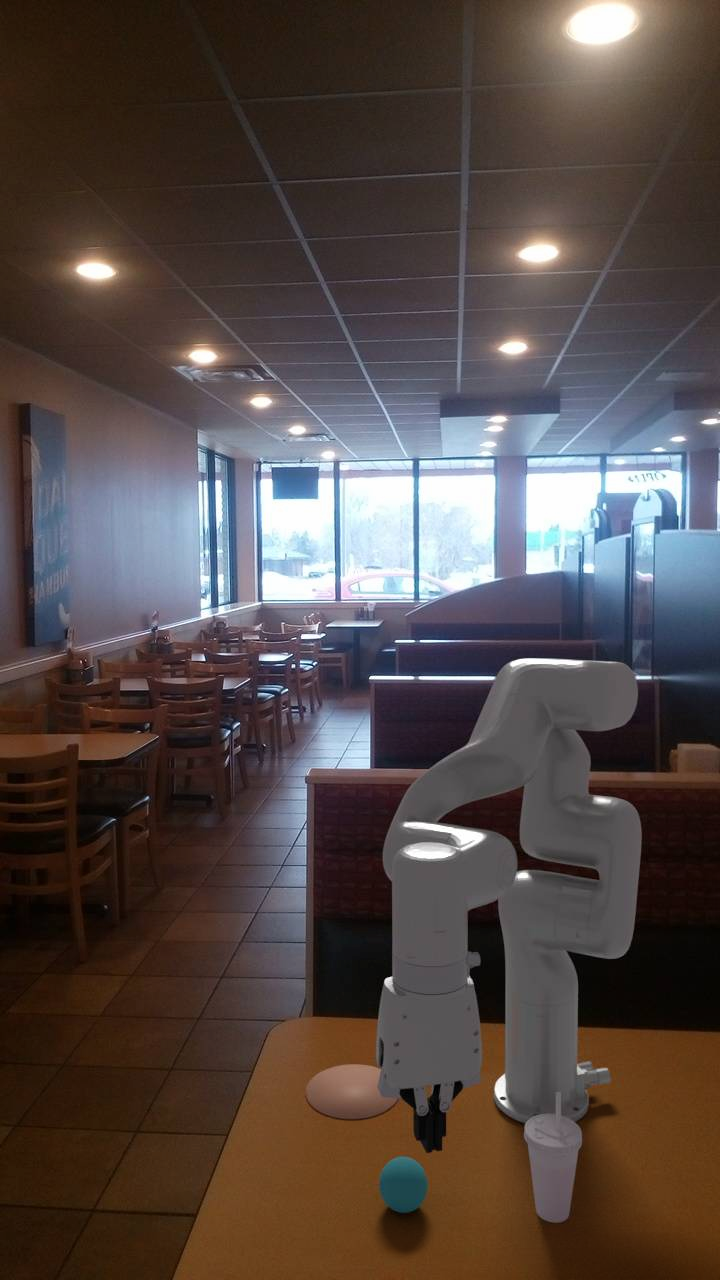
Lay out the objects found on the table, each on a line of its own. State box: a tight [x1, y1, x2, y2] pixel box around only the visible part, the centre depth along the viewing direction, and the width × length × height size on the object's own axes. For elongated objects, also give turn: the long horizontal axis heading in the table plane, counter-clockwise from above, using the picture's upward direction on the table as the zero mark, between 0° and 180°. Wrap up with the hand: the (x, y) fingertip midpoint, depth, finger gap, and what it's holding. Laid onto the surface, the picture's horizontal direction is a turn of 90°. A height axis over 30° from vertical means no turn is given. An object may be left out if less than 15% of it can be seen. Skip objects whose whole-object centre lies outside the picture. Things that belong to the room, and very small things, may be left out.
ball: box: [378, 1156, 429, 1214], centre depth 106 cm, size 6×6×6 cm
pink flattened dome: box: [305, 1063, 399, 1120], centre depth 130 cm, size 13×13×1 cm
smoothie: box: [523, 1092, 583, 1224], centre depth 105 cm, size 6×6×14 cm
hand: (429, 1143), depth 95 cm, fingers closed
